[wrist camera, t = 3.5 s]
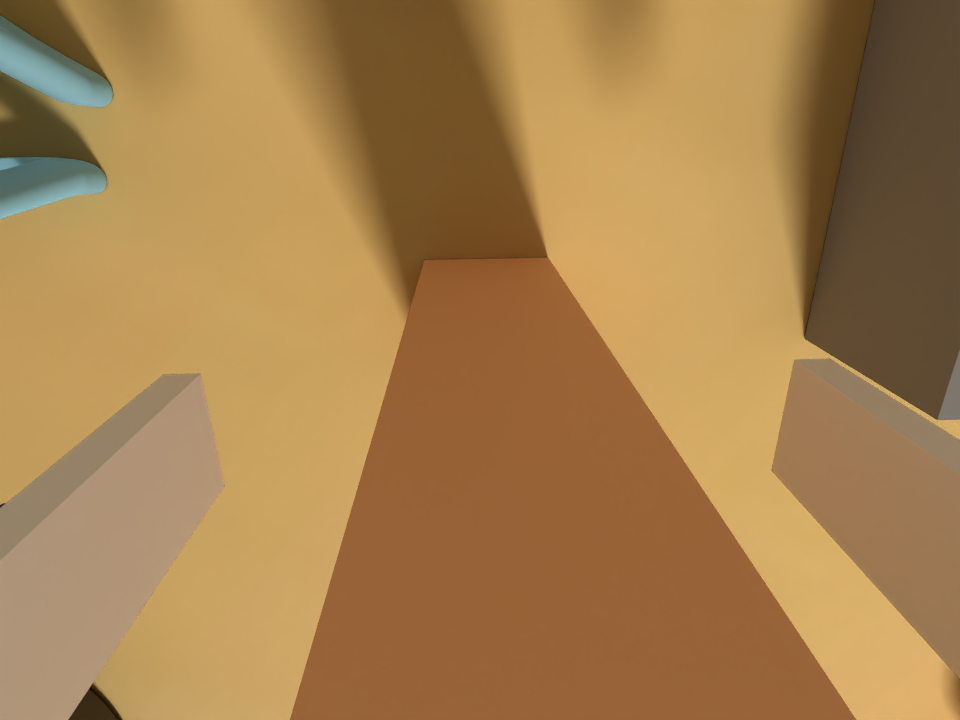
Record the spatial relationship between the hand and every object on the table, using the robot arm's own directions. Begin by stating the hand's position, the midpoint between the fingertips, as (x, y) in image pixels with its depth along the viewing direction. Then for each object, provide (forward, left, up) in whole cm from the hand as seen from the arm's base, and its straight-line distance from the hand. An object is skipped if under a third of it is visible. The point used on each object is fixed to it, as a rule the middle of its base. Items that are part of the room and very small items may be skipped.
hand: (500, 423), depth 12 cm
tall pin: (0, 0, -7) cm, 7 cm away
